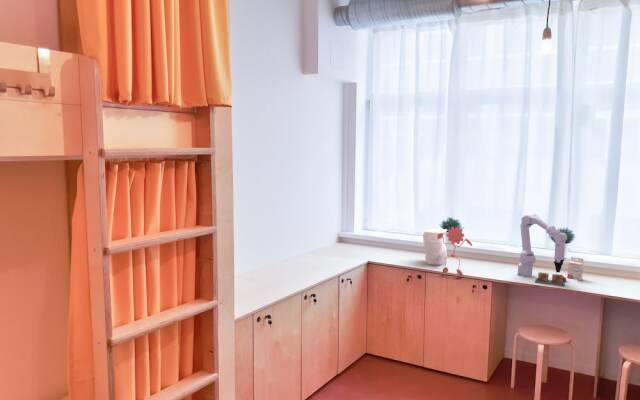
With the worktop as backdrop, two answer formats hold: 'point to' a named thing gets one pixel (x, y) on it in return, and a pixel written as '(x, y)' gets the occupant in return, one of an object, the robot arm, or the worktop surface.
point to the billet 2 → (557, 278)
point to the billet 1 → (543, 276)
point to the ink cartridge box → (575, 268)
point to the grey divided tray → (549, 282)
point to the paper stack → (434, 247)
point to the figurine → (455, 237)
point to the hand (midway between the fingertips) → (558, 271)
